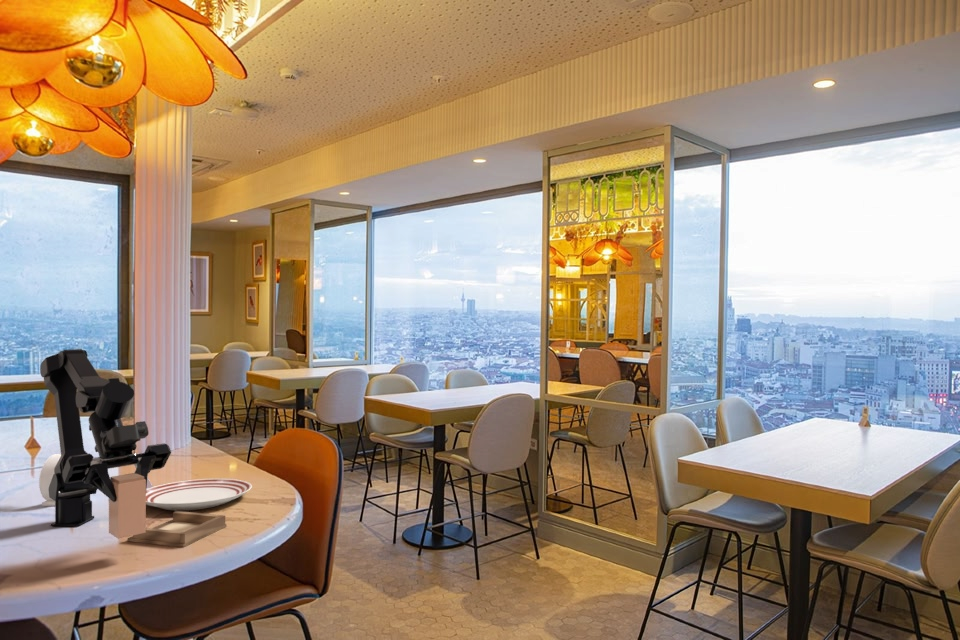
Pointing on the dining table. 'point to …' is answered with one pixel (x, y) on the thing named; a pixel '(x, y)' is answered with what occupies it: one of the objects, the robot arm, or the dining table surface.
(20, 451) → the dining table surface
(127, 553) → the dining table surface
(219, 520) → the square wooden tray
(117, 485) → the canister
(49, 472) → the headphone stand
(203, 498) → the dinner plate
